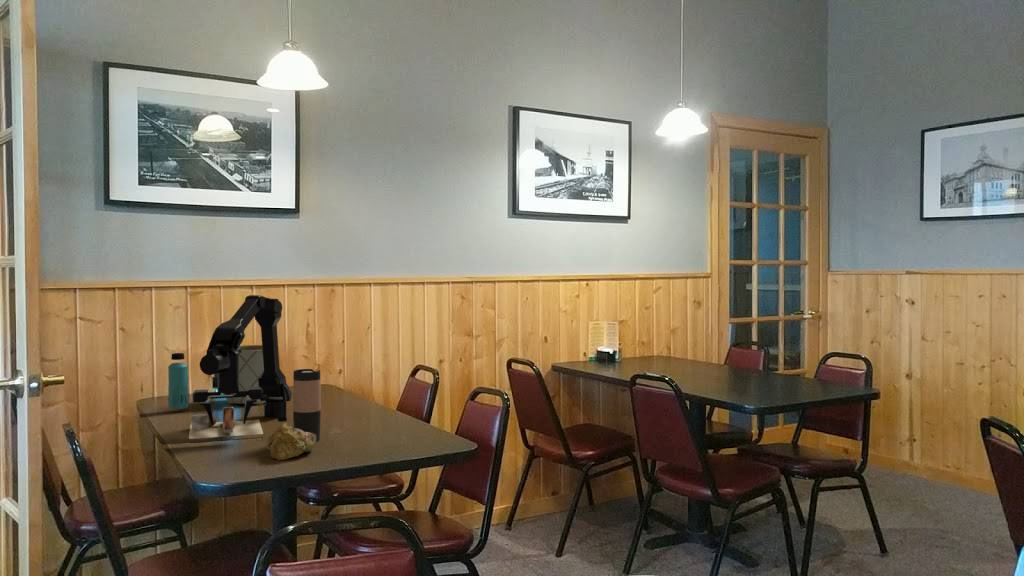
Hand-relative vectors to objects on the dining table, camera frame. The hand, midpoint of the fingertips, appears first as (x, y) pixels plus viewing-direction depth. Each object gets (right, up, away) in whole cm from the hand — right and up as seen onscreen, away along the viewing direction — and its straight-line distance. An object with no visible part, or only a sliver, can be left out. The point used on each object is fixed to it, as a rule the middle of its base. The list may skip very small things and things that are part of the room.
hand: (228, 424), depth 224 cm
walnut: (-10, -3, +12) cm, 16 cm away
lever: (-3, -2, +8) cm, 9 cm away
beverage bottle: (-32, -3, +42) cm, 53 cm away
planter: (-14, -3, +62) cm, 64 cm away
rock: (+24, -5, -18) cm, 30 cm away
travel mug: (+22, -5, 0) cm, 23 cm away
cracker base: (-4, -4, +9) cm, 11 cm away
